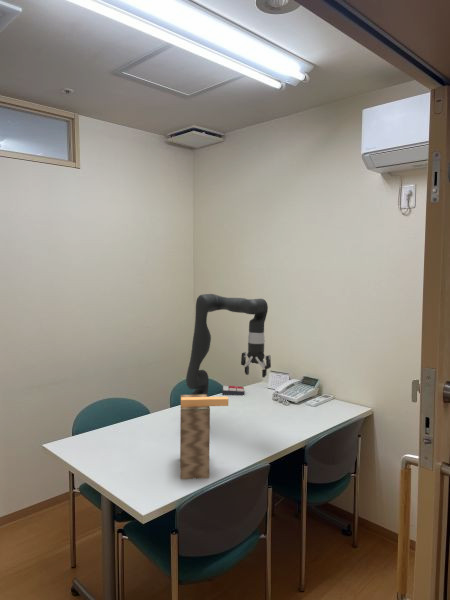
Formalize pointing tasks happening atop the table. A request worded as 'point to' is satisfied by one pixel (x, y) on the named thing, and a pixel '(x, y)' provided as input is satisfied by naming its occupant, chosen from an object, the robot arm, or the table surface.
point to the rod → (203, 401)
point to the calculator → (232, 390)
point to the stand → (194, 441)
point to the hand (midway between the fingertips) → (255, 375)
